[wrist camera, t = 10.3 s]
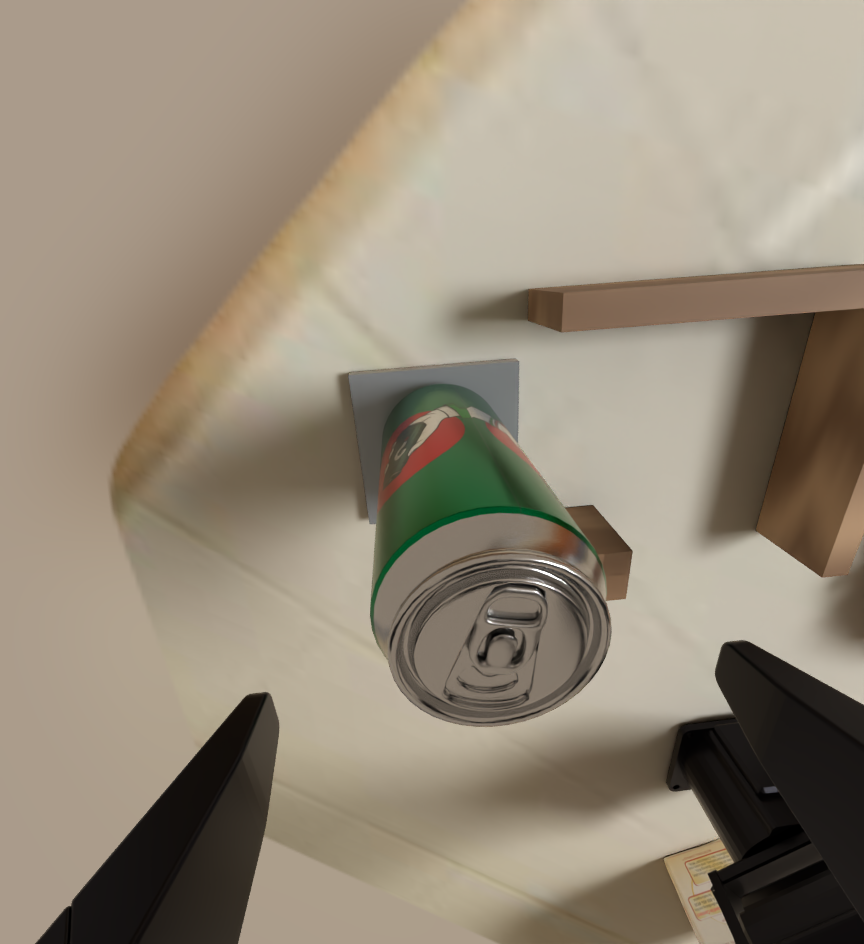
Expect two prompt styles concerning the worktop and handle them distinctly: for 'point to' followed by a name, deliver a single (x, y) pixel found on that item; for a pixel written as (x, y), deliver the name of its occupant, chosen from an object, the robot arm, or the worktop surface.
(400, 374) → the slate coaster
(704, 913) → the coffeecake box
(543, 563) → the soda can
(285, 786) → the worktop surface
